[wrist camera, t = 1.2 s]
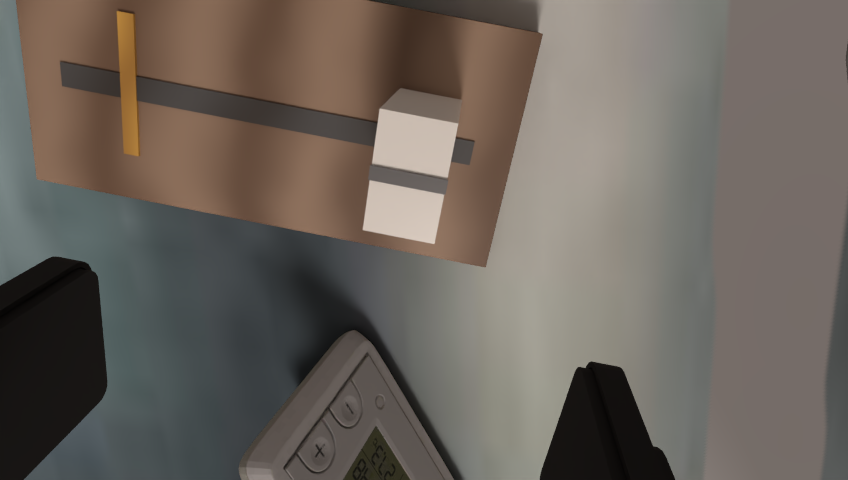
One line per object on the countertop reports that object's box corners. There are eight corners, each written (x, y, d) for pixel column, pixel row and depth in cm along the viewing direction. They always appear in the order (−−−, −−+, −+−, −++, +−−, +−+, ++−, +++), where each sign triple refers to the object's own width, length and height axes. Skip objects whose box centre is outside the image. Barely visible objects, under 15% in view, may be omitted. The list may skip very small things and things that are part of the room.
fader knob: (463, 100, 26) (459, 124, 20) (443, 198, 28) (435, 245, 22) (399, 87, 26) (377, 108, 20) (384, 186, 28) (361, 230, 22)
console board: (538, 32, 26) (543, 34, 24) (484, 252, 31) (485, 268, 29) (39, -63, 27) (5, -69, 25) (62, 169, 32) (34, 179, 30)
